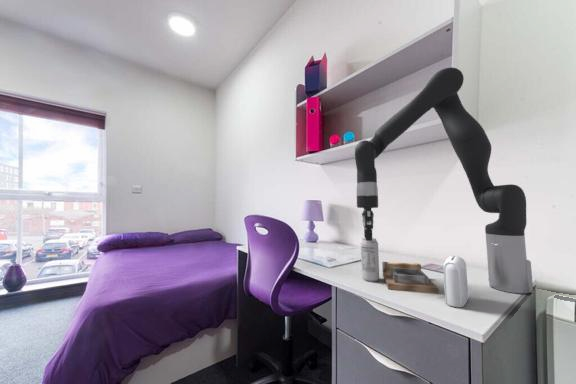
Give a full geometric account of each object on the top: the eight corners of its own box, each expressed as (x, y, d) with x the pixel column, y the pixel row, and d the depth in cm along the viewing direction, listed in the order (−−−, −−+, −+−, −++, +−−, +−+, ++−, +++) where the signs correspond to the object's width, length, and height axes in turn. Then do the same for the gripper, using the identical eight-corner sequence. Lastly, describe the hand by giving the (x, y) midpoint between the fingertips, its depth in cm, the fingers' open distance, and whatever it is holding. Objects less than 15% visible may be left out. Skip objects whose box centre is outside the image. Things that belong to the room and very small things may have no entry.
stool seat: (425, 281, 80) (425, 268, 80) (438, 294, 68) (438, 279, 68) (383, 278, 84) (382, 265, 84) (388, 290, 72) (387, 275, 72)
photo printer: (451, 294, 68) (449, 252, 69) (470, 298, 65) (467, 254, 65) (443, 305, 60) (440, 258, 61) (463, 310, 57) (460, 260, 58)
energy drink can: (382, 280, 81) (380, 238, 83) (374, 284, 77) (372, 239, 78) (366, 276, 86) (365, 236, 87) (358, 280, 82) (357, 238, 83)
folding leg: (383, 277, 84) (382, 262, 85) (382, 275, 86) (381, 261, 87) (421, 279, 82) (420, 264, 82) (419, 277, 84) (418, 263, 84)
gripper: (356, 196, 92) (357, 236, 91) (356, 194, 78) (357, 241, 77) (376, 196, 90) (377, 237, 89) (380, 193, 76) (381, 242, 75)
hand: (368, 239), depth 83 cm, fingers open, 8 cm apart
